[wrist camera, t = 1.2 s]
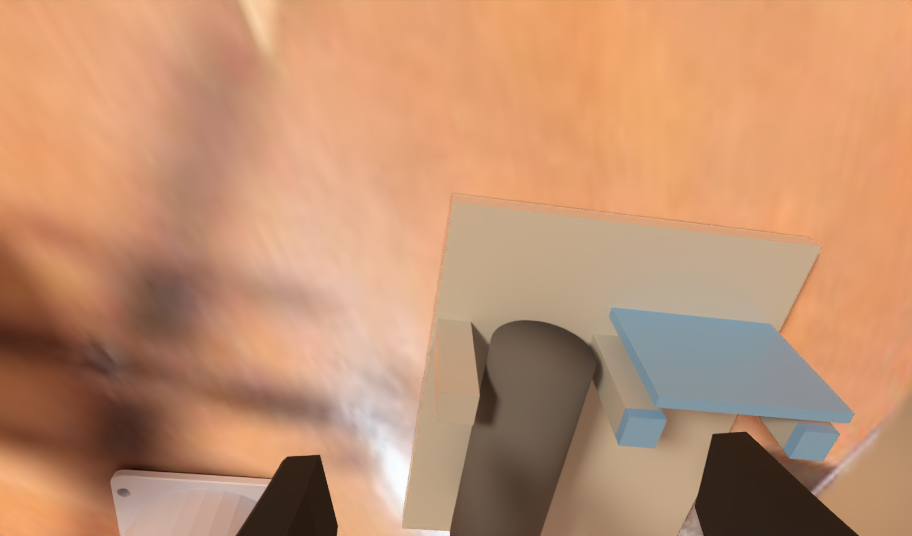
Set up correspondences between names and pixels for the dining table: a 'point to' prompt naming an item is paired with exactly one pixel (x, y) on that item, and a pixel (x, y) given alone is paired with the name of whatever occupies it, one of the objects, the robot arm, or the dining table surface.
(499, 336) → the dark brown cylinder post
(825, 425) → the base plate with posts
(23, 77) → the dining table surface
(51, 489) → the dining table surface
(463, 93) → the dining table surface
